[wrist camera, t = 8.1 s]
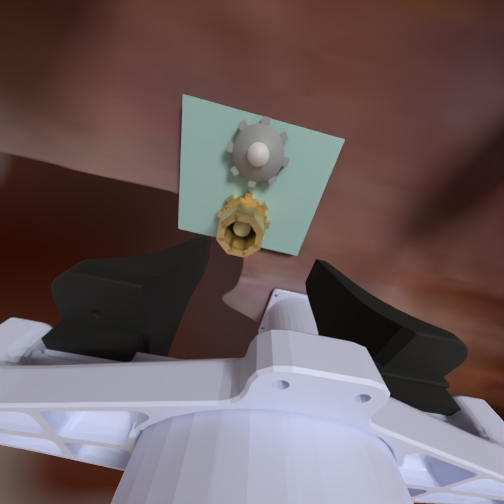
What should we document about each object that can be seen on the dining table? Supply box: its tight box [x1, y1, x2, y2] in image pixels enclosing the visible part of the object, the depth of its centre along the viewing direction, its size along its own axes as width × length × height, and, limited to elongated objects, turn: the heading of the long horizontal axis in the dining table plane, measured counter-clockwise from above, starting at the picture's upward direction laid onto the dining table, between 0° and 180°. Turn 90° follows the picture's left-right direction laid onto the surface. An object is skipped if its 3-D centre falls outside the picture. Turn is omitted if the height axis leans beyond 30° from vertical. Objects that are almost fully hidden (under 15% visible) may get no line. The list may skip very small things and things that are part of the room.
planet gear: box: [216, 191, 270, 257], centre depth 17 cm, size 5×5×5 cm
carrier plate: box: [178, 94, 345, 256], centre depth 17 cm, size 12×14×4 cm
